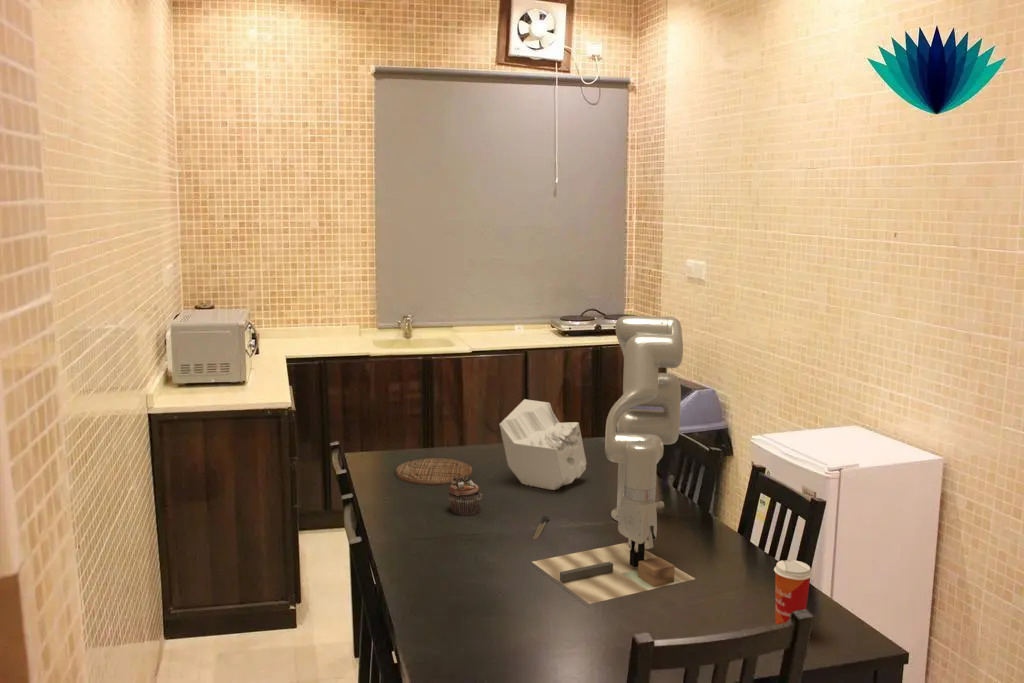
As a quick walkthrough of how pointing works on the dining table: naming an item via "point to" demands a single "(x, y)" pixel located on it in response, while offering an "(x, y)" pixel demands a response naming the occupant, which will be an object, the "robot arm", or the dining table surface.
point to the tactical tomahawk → (541, 526)
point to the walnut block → (656, 571)
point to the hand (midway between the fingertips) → (636, 565)
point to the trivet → (433, 471)
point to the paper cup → (790, 588)
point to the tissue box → (542, 446)
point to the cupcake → (464, 496)
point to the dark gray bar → (586, 572)
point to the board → (604, 584)
